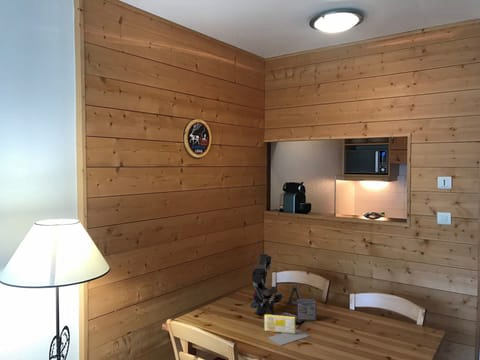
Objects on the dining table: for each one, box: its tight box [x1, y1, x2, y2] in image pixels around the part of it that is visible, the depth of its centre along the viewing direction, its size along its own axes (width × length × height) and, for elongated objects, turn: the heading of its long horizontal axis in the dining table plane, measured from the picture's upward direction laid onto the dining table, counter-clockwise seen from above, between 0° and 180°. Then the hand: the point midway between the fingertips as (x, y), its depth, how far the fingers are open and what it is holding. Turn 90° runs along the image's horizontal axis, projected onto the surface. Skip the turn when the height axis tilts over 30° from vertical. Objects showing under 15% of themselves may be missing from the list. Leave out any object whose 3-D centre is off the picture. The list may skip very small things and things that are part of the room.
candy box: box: [263, 314, 296, 334], centre depth 199 cm, size 16×2×8 cm, turn 71°
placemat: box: [267, 328, 310, 347], centre depth 193 cm, size 10×19×1 cm, turn 123°
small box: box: [296, 298, 317, 322], centre depth 217 cm, size 11×6×10 cm, turn 84°
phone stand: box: [287, 283, 303, 306], centre depth 241 cm, size 9×6×12 cm, turn 72°
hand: (273, 315), depth 203 cm, fingers closed
